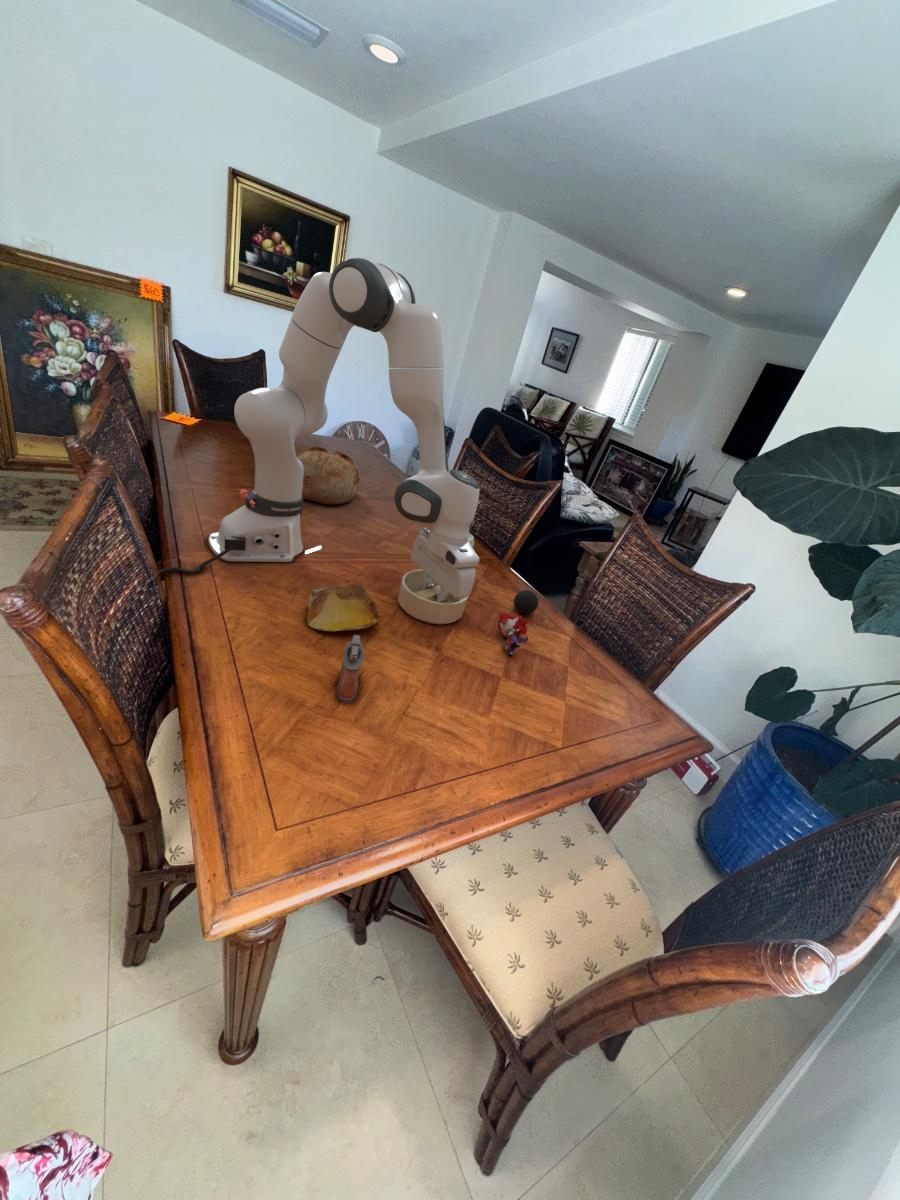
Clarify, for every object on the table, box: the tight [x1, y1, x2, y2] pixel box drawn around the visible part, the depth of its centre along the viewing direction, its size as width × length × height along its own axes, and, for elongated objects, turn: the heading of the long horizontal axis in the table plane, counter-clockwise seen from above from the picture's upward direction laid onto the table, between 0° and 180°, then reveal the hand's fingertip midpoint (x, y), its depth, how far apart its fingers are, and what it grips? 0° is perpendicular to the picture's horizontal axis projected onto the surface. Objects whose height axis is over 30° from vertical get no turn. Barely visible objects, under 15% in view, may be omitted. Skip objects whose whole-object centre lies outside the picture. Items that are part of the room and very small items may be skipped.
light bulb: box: [513, 589, 539, 615], centre depth 128 cm, size 6×6×10 cm
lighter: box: [337, 634, 365, 704], centre depth 84 cm, size 8×3×10 cm, turn 5°
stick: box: [416, 585, 452, 602], centre depth 117 cm, size 12×3×3 cm, turn 140°
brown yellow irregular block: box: [306, 583, 380, 632], centre depth 104 cm, size 17×8×15 cm
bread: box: [296, 445, 361, 506], centre depth 164 cm, size 26×23×15 cm
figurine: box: [497, 612, 530, 658], centre depth 112 cm, size 6×8×15 cm
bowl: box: [397, 568, 470, 625], centre depth 117 cm, size 16×16×6 cm
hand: (433, 594), depth 117 cm, fingers closed on stick, 3 cm apart
